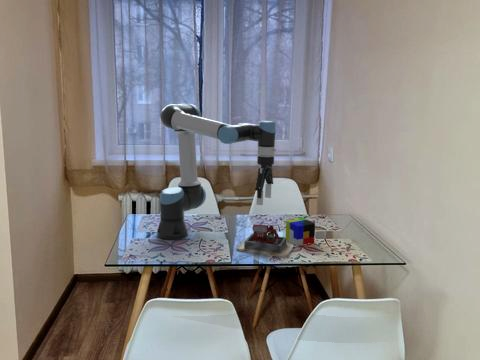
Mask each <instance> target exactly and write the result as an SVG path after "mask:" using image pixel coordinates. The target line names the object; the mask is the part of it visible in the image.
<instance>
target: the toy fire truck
mask: <svg viewBox="0 0 480 360" xmlns="http://www.w3.org/2000/svg"><path fill="white" fill-rule="evenodd" d="M252 231H253V232H252V233H253V242H259V243H267V244H274V245H278V244H279V237H280V235H279V234H278V232H277V229H276V228H274V225H272V224H270V225H269V226H268V225H267V224H253V225H252ZM267 235H268V238H267ZM274 236H275V237H274ZM266 238H267V240H266Z"/></svg>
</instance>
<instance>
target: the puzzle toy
mask: <svg viewBox="0 0 480 360" xmlns="http://www.w3.org/2000/svg"><path fill="white" fill-rule="evenodd" d="M315 230H316V223H315V222H312V221H310V220H309V219H306V218H304V217H300V218H294V219H288V220H287V219H286V221H285V237H286V238H287V242H288V243H290V242H291V243H290V244H292V243H293V244H292V245H294V244H295V245H294V246H296V247H300V246H299V245H301V246H304V245H303V244H307V245H309V244H308V243H312V244H315V237H316V236H315Z"/></svg>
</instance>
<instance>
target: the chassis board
mask: <svg viewBox="0 0 480 360" xmlns="http://www.w3.org/2000/svg"><path fill="white" fill-rule="evenodd" d="M253 233H254V232H252V233H250V235H249V236H248V237H247V238H244V240H242V242H241V243H240V244H239V245H238V246H237V247H236V250H235V251H239V252H246V253H252V254H253V253H254V254H260V255H266V256H267V255H268V256H272V257H273V256H275V257H282V258H288V257H289V256H290V254H291V253H292V251H293V249H294V248H295V245H294V244H292V243H287V242H288V241H287V238H286V236H285V237H284V236H279V244H278V245H274V244H267V243H259V242H253ZM274 237H275V235H274ZM267 238H268V234H267ZM267 238H266V240H267ZM293 247H294V248H293ZM290 252H291V253H290Z"/></svg>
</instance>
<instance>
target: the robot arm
mask: <svg viewBox="0 0 480 360" xmlns="http://www.w3.org/2000/svg"><path fill="white" fill-rule="evenodd" d="M160 121H161V123H162V124H163V125H164V126H165V127H166V128H168V129H171V130H174V132H175V134H177V142H178V160H179V171H180V182H179V183H178V184H177V185H178V186H173V187H167V188H164V189H163V190H161V192H160V194H159V213H160V215H159V217H160V221H159V224H158V227H157V231H156V235H157V236H156V237H158V238H159V239H162V240H169V241H171V240H172V241H173V240H180V239H184V238H186V237H187V236H188V234H189V233H188V228H187V224H186V222H185V212H187V211H191V210H194V209H197V208H200V207H201V206H202V205H203V204H204V203H205V201H206V199H207V198H206V197H207V193H206V190H205V188H204V187H203V186H202V184H201V182H200V181H199V180H198V167H197V150H196V135H195V134H198V135H201V136H205V137H209V138H213V139H216V140H219V141H220V142H221V143H223V144H225V145H227V144H228V145H230V144H235V143H239V142H240V143H241V142H247V141H253V142H257V165H260V168H258V171H257V178H256V184H255V189H254V190H255V191H256V205H257V206H263V205H264V198H266V199H271V198H272V185H274V177H273V165H274V164H275V152H276V148H275V146H276V145H275V144H276V143H275V142H276V133H277V132H276V131H277V130H276V122H275V121H273V120H259V121H258V124H253V123H247V122H239V123H237V124H233V125H232V124H229V123H225V122H224V123H223V122H220V121H217V120H212V119H209V118H205V117H202V113H201V110H200V109H199V108H198V107H197V105H195V104H193V103H177V104H175V103H174V104H172V103H171V104H168V105H166V106H165V107H164V108H163V109H162V110H161V112H160ZM264 186H265V188H264ZM263 189H265V190H263Z"/></svg>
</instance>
